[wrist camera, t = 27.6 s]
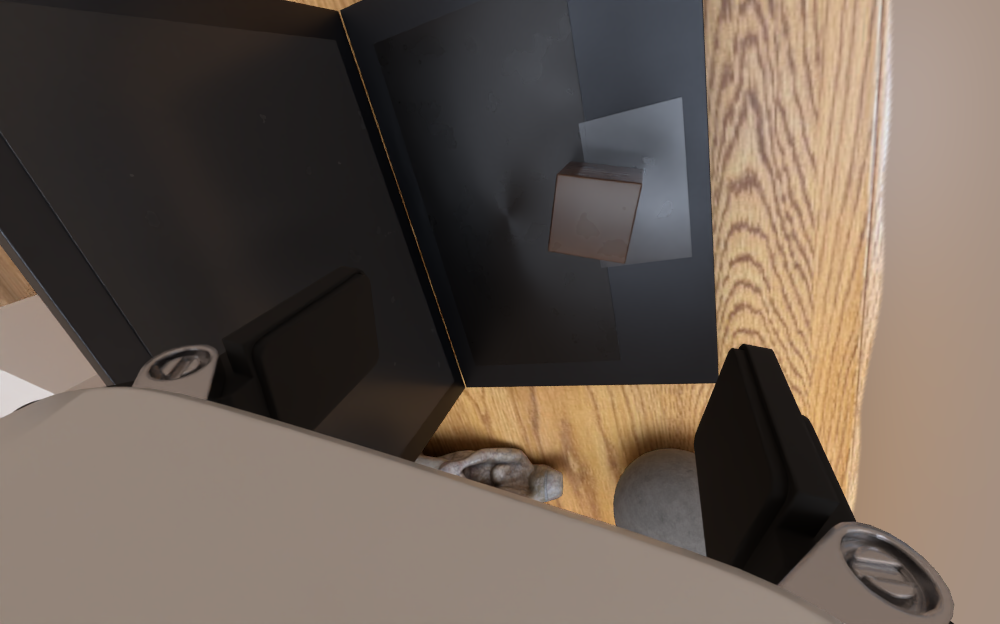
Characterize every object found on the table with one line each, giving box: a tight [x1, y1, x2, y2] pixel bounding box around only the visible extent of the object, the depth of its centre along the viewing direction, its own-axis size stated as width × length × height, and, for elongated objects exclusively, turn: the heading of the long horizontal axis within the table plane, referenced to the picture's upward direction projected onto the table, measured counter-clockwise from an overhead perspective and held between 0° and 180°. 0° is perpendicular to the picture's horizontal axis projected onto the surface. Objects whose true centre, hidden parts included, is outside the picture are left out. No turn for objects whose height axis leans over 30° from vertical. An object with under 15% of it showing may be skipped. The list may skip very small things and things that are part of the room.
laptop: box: [340, 0, 719, 387], centre depth 30 cm, size 21×30×2 cm
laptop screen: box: [0, 0, 465, 462], centre depth 24 cm, size 21×30×1 cm
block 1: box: [0, 295, 106, 418], centre depth 54 cm, size 18×35×12 cm, turn 106°
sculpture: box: [415, 448, 563, 503], centre depth 42 cm, size 11×18×12 cm
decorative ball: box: [613, 449, 706, 556], centre depth 34 cm, size 10×10×10 cm
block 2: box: [548, 161, 643, 264], centre depth 25 cm, size 5×5×5 cm
